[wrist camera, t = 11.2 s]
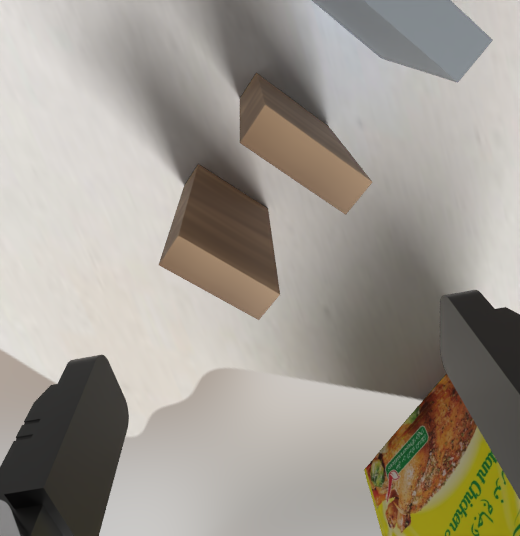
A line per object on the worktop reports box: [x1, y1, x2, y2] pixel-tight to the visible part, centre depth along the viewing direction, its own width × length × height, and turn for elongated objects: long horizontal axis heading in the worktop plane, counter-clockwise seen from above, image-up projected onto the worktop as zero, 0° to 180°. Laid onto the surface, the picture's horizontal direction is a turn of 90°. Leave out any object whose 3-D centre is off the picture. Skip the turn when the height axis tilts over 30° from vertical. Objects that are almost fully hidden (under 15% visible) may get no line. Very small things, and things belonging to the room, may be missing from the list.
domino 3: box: [312, 0, 493, 82], centre depth 19 cm, size 2×5×10 cm, turn 55°
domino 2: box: [240, 73, 372, 214], centre depth 22 cm, size 2×5×10 cm, turn 55°
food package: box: [365, 374, 520, 536], centre depth 29 cm, size 15×1×20 cm, turn 154°
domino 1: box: [159, 164, 280, 320], centre depth 24 cm, size 2×5×10 cm, turn 55°
